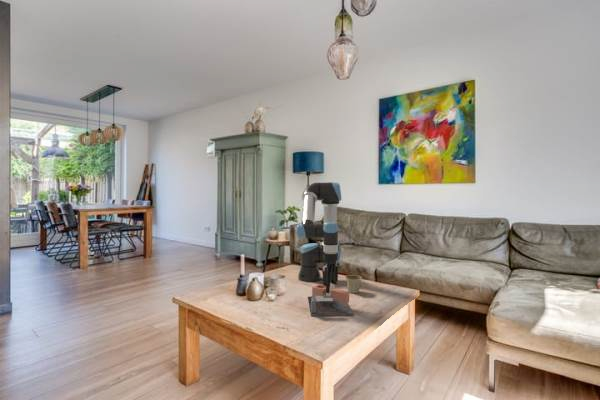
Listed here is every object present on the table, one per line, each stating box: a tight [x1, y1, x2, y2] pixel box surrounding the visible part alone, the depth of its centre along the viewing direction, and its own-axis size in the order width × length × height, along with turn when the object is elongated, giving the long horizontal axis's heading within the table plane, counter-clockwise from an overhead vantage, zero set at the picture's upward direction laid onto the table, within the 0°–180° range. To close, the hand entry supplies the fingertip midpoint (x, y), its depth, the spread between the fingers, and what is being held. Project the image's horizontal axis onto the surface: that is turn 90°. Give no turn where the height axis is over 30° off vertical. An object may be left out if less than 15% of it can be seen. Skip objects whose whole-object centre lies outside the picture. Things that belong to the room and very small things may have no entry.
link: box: [311, 283, 350, 304], centre depth 159 cm, size 19×7×5 cm, turn 52°
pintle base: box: [307, 295, 354, 317], centre depth 159 cm, size 24×20×8 cm
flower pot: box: [345, 274, 363, 294], centre depth 181 cm, size 9×9×9 cm
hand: (330, 297), depth 160 cm, fingers closed on link, 3 cm apart
